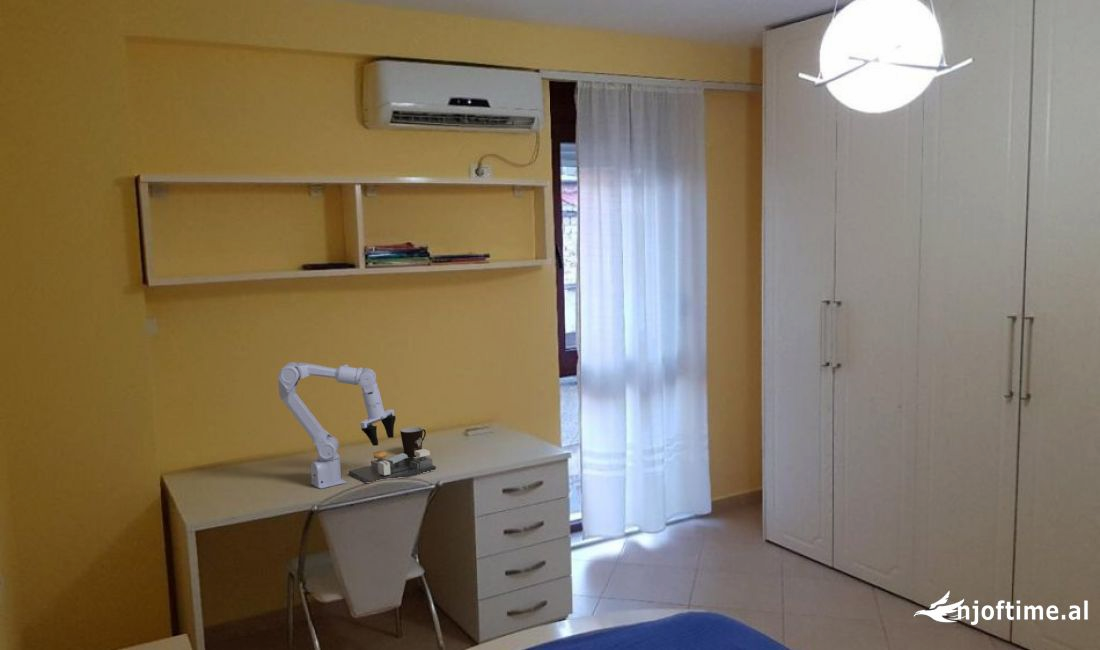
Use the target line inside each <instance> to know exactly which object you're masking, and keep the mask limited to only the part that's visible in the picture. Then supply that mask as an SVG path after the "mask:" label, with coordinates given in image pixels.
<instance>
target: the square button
mask: <svg viewBox="0 0 1100 650" xmlns="http://www.w3.org/2000/svg"><path fill="white" fill-rule="evenodd" d="M430 452H431V451H430V450H428V449H425V448H422V449H421V450H416V451H414V454H415V455H416V456H418V457H417V458H420V460H425V457H428V456H431V453H430Z"/></svg>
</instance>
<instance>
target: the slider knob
mask: <svg viewBox="0 0 1100 650" xmlns="http://www.w3.org/2000/svg"><path fill="white" fill-rule="evenodd" d="M378 466H379V473H380V474H382V475H388V474H391V473H390V463H389V462H387V461H380V462H378Z"/></svg>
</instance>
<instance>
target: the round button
mask: <svg viewBox="0 0 1100 650" xmlns="http://www.w3.org/2000/svg"><path fill="white" fill-rule="evenodd" d="M373 458H374V459H375V460H378V462H380V461H383V458H384V459H386V458H387V451H383V450H379V451H374V452H373Z"/></svg>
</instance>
